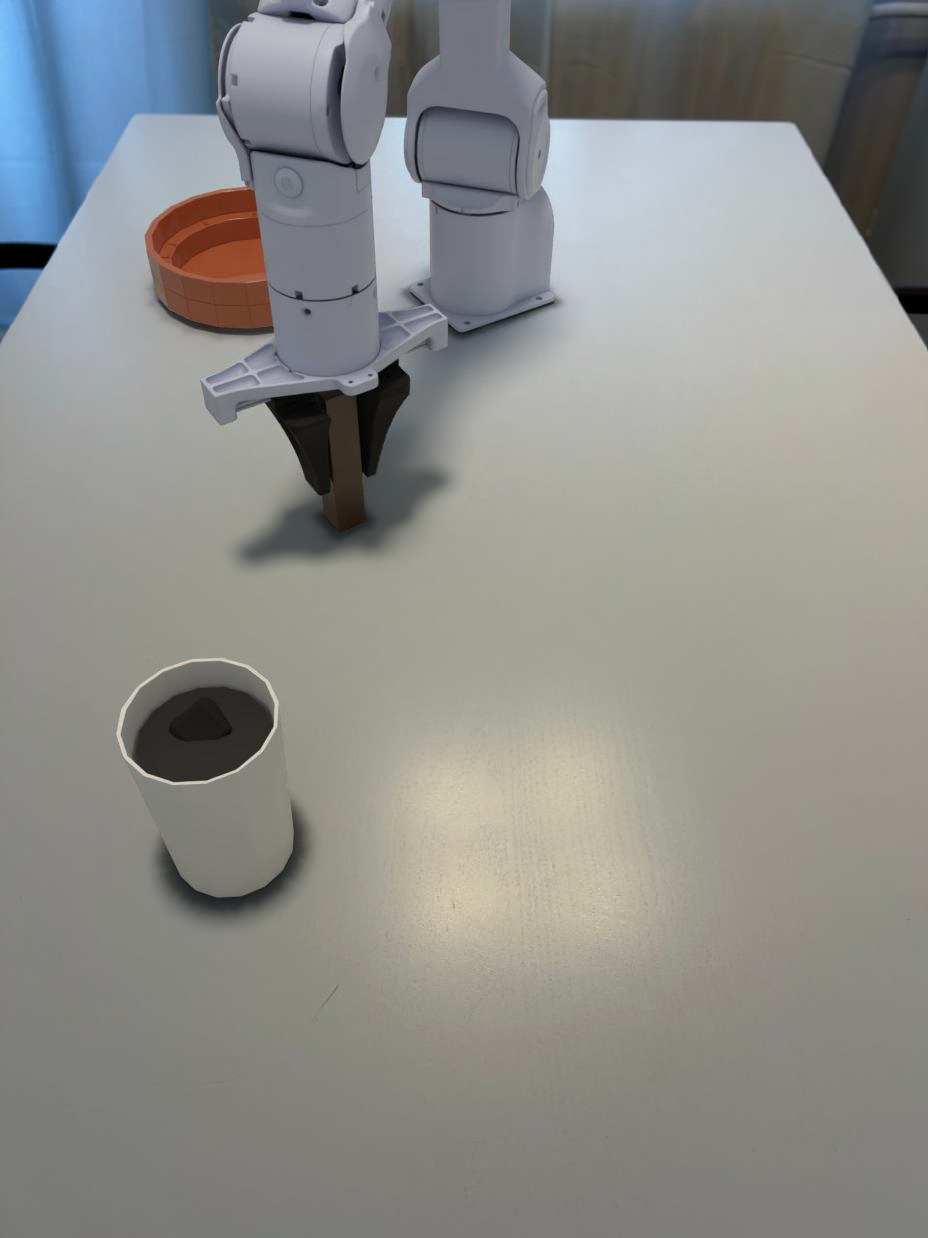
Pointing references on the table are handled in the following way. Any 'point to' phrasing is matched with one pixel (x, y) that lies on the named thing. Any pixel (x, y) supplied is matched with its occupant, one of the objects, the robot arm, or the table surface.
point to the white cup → (212, 772)
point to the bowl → (211, 260)
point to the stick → (343, 461)
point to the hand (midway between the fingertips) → (341, 476)
